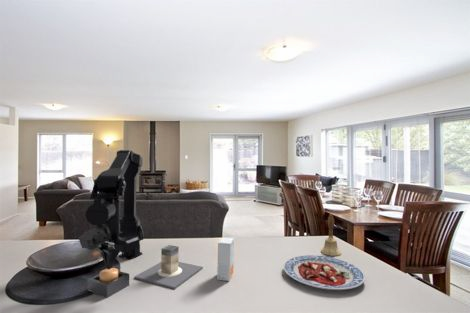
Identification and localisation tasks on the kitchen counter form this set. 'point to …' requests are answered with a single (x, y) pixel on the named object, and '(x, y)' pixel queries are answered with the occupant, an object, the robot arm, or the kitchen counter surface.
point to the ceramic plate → (324, 272)
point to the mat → (169, 280)
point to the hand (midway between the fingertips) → (109, 268)
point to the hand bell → (330, 240)
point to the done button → (108, 275)
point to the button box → (108, 285)
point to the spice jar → (169, 259)
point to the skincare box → (225, 259)
